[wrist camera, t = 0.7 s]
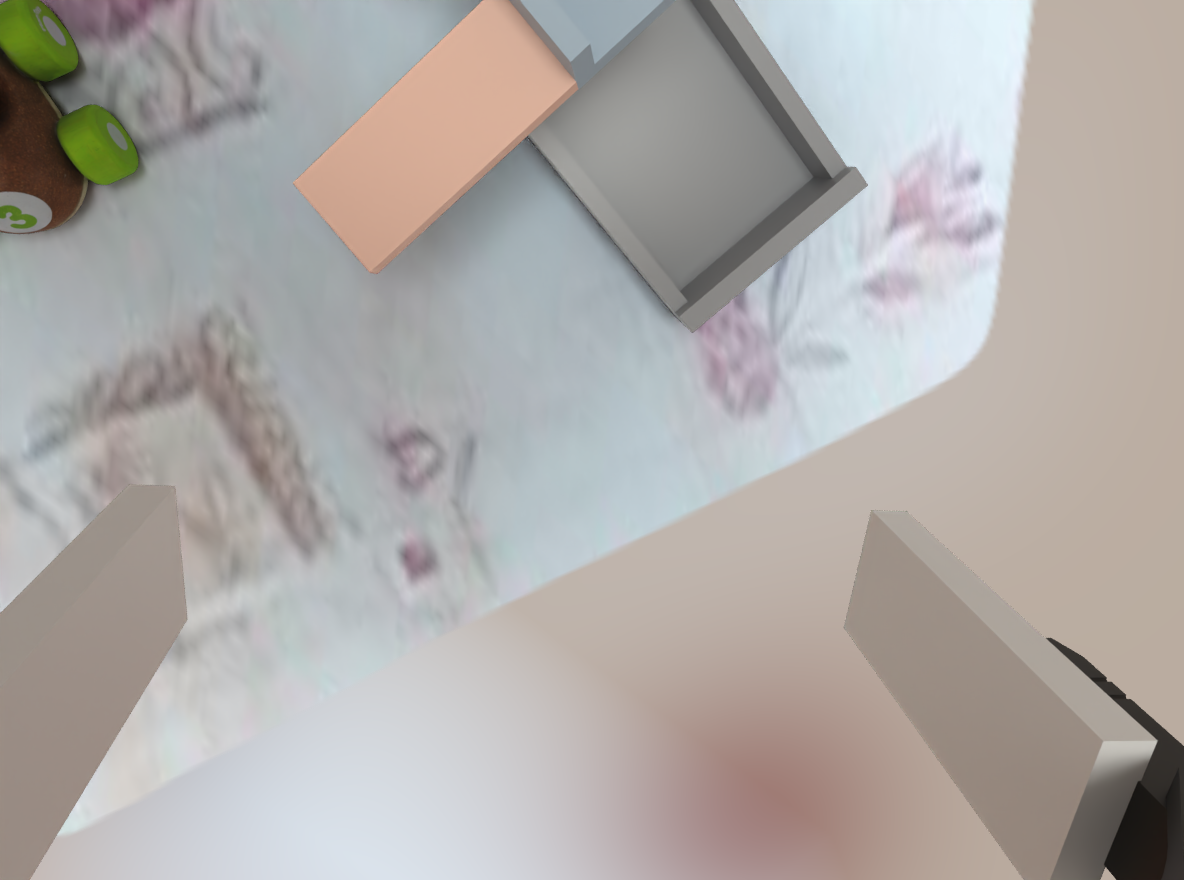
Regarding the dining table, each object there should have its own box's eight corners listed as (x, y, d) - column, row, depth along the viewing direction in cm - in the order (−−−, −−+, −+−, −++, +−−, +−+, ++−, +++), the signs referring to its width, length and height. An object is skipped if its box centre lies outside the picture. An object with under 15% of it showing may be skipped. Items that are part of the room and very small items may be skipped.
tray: (500, 103, 37) (500, 98, 33) (670, -55, 36) (690, -80, 32) (675, 316, 41) (692, 333, 38) (833, 181, 40) (868, 185, 36)
